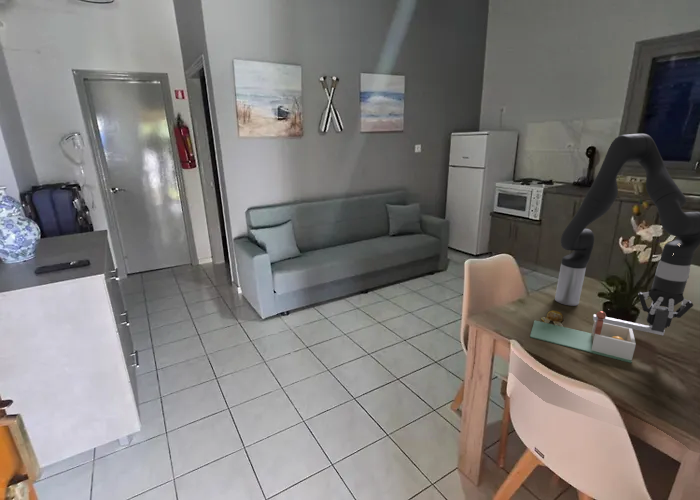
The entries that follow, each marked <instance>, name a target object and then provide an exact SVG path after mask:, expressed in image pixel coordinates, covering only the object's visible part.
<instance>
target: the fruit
mask: <svg viewBox="0 0 700 500" xmlns="http://www.w3.org/2000/svg"><path fill="white" fill-rule="evenodd" d="M540 319H541V322H544V323H549V324H550V322H553V325H557V326H562V327H565V326H564V324H562V322H563V321H564V315H563V314H562V312H560V311H558V310H550V311H548V312H547V313H546V317H545V316H542V317H540Z"/></svg>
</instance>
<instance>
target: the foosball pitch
mask: <svg viewBox="0 0 700 500" xmlns="http://www.w3.org/2000/svg"><path fill="white" fill-rule="evenodd" d="M595 324H596V321H594V320H593V325H592V330H591V332H588V331H587V332H586V331H584V330H583V331H582V330H577V329H574V328H570V327H566V326H564V327H562V326H560V325H555V324H554V323H553V324H552V323H550V322H549V323H544V322H543V321H539V320H535V319H534V321H533V326H532V328H531V332H530V335H529V337H530V339H531V338H532V339H534V340H535V339H536V340H539V341H544V342H547V343H552V344H556V345H559V346H564V347H566V348H567V347H568V348H571V349H576V350H579V351H582V352H587V353H591V354H594V355H599V356H602V357H606V358H611V359H615V360H618V361H622V362H626V363H630V364H632V363H633V361H632V360H633V356H634V353H635V349H636V345H637V344H636V339H635V335H634V331H633V330H634V329H631V328H626V327H622V326H617V325H612V324H608V323H603V325H602V330H601V334H600V335H599V334H595V336H594V340H593V344H592V338H593V333H594V329H595ZM613 336H619V337H621V338H623V339H624V340H620V339H616V338H612V337H613Z"/></svg>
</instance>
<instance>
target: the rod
mask: <svg viewBox="0 0 700 500" xmlns="http://www.w3.org/2000/svg"><path fill="white" fill-rule="evenodd" d="M654 315H655V316H654V319H653V323H652V325H646V324H643V323H642V324H641V323H637V322H632V321H627V320H624V319H623V320H622V319H619V318H618V319H617V318H614V317H608V316H607V314H606V312H605V311H602V310H599V311H597V312H596V314H593V317H592V321H593V322H594V321H596V324H595V329H594V333H593V338H592V344H593V340H594V336H595V334H599V335H600V334H601V330H602V325H603V323H608V324H612V325H617V326H622V327H626V328H631V329H632V330H636V331H641V332H644V333H648V334H649V333H651V334H655V335H660V336H664V335H665V333H666V332H665V329H666V328H665V325H666V322H667V318H668V315H669V312H668V310H667V307H665V306H659V307H658V309H656V312H655V313H654Z"/></svg>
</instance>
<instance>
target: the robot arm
mask: <svg viewBox="0 0 700 500" xmlns="http://www.w3.org/2000/svg"><path fill="white" fill-rule="evenodd" d="M626 163H638V164H639V165H640V166H641V167H642V168H643V169H644V171H645V175H646V178H645V179H646V180H645V189H646V193H647V195H648V196H649V198H650V200H651V201H652V203H653V204H654V206H655V208H657V212H658V215H659V216H658V217H659V220H660V224H661V226H662V228H663V230H664V231H665V232H666V233H668V235H670V236H672V237H673V236H674V237H675V239H674V240H672V241H669V242H667V243H665V245H664V246H663V249H662V252H661V257H660V260H659V262H658V264H657V268H656V270H655V274H654V277H653V282H652V284H651V288H650V289H649V290H648V291H646V292H645V291H644V292H642V291H639V292H637V295H638V299H639V301H640V305H641V307H642V311H643V312H645V313H647V316H646V322H647V323H648V326H650V325H652V323H653V319H654V316H655V315H654V313H655V312H656V309H658V307H659V306H661V307H667V310H668V312H669V315H668V318H667V322H666V325H665V329H667V328H669V327H670V326H671V323H672V320H673V319H675V318H677V319H680V318H681V317H682V316H684V315H685V314H686V313H687V312H688V311H689V310H691V308H693V306H694V304H693V302H692V300H690V299H686V298H685V297H684V292H685V288H686V285H687V282H688V279H689V277H690V271H691V265H692V261H693V259H694V255H695V252H696V250H698V247H699V246H700V211H683V210H682V208H683V207H684V205H686V203H687V198H686V196H685V194H684V193H683V192H682V190H681V189H680V187H679V186H678V185H677V184H676V182H675V180H673V177H672V176H671V175H670V173H669V171H668V169H667V167H666V165H665V162H664V159H663V158H662V156H661V153H660V151H659V148H658V147H657V144H656V142H655V141H654V139H653V138H652V136H650V135H649V134H647V133H631V134H629V133H628V134H621V135H618V136H617V137H616V138H614V140H613V141H612V142H611V144H610V145H609V148H608V150H607V152H606V154H605V157H604V159H603V161H602V164H601V166H600V169H599V171H598V173H597V175H596V177H595V178H594V181H593V183H592V184H591V186H590V187H589V189H588V190H587V193H586V195H585V197H584V198H583V201H582V202H581V204H580V206H579V208H578V210H577V211H576V213H575V215H574V216H573V218H572V219H571V220H570V222H569V223H568V224H567V226H566V227H565V229H564V230H563V232H562V234H561V237H560V246H561V247H562V248H563V249H564V250H567V251H572V252H570V253H569V254H567V255H566V254H565V255H564V256H563V257H562V259H561V261H560V262H561V263H560V269H559V274H558V278H557V279H558V280H557V286H556V289H555V290H556V291H555V296H554V300H555V301H556V302H557V303H559V304H562V305H565V306H569V307H570V306H572V307H573V306H579V304H580V299H581V294H582V290H583V285H584V279H585V275H586V269H587V265H588V263H589V262H590V259H591V255H592V252H593V248H594V245H595V234H594V232H593V230H591V229H590V228H587V227H588V226H589V225H590V224H592V223H594V222H596V221H597V220H598V219H599V218H601V217H603V215H605V214H607V212H609V210H610V209H611V207H612V206H613V204H614V203H615V202H616V199H617V197H618V194H619V189H618V182H617V178H618V175H619V173H620V171H621V169H622V168H623V166H624V165H625V164H626ZM678 243H680V244H681V245H680V247H679V246H678V245H677V244H678ZM673 253H674V255H673ZM672 255H673V256H672ZM649 297H650V300H651V301H652V302H651V304H650V306H647V302H646V300H647V299H648V298H649ZM680 303H681V305H680V306H679V307H678V308H677V309H676V310H675V311H674V309H675V306H676V305H678V304H680Z"/></svg>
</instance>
